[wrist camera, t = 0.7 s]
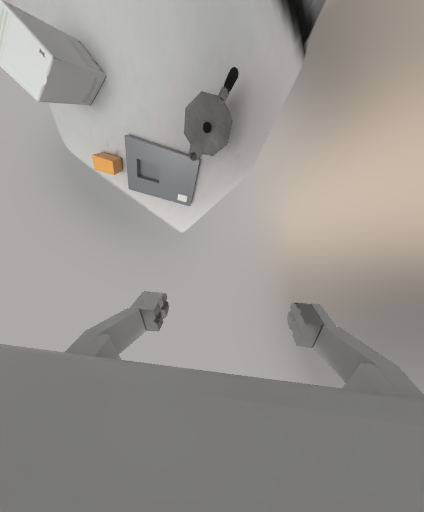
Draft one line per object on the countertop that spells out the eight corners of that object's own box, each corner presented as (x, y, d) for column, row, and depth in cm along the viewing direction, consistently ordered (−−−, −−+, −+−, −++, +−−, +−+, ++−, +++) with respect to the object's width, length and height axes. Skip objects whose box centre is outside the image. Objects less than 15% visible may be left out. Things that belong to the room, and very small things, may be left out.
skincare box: (78, 39, 31) (-4, -11, 19) (109, 78, 34) (55, 56, 23) (62, 76, 34) (-16, 53, 23) (91, 108, 38) (37, 103, 26)
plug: (104, 151, 44) (92, 154, 39) (122, 157, 45) (112, 161, 40) (106, 164, 46) (95, 169, 42) (123, 170, 47) (114, 174, 43)
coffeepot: (210, 161, 45) (209, 177, 32) (182, 139, 42) (167, 147, 28) (245, 100, 36) (263, 87, 23) (213, 66, 33) (212, 28, 20)
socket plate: (129, 134, 41) (123, 135, 38) (200, 158, 45) (199, 161, 42) (132, 186, 50) (128, 189, 47) (191, 202, 54) (190, 207, 51)
